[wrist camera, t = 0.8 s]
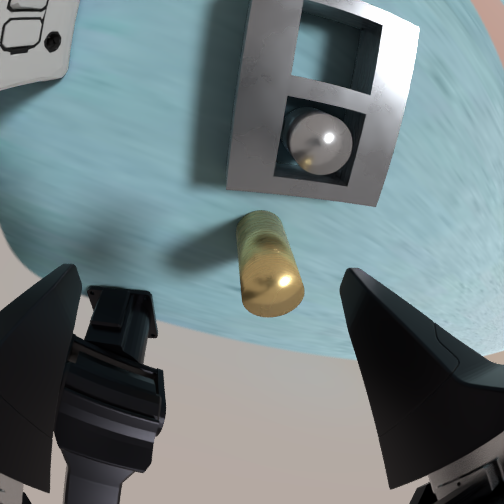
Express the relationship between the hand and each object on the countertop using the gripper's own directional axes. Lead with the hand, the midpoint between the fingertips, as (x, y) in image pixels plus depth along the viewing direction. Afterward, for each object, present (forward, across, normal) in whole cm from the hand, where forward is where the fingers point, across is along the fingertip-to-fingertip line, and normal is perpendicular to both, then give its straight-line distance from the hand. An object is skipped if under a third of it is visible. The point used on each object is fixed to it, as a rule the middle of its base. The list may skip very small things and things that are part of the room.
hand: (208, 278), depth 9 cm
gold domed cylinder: (+12, -4, +5) cm, 13 cm away
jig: (+12, -6, -6) cm, 14 cm away
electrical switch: (+12, +13, -12) cm, 21 cm away
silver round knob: (+12, -6, -3) cm, 13 cm away
